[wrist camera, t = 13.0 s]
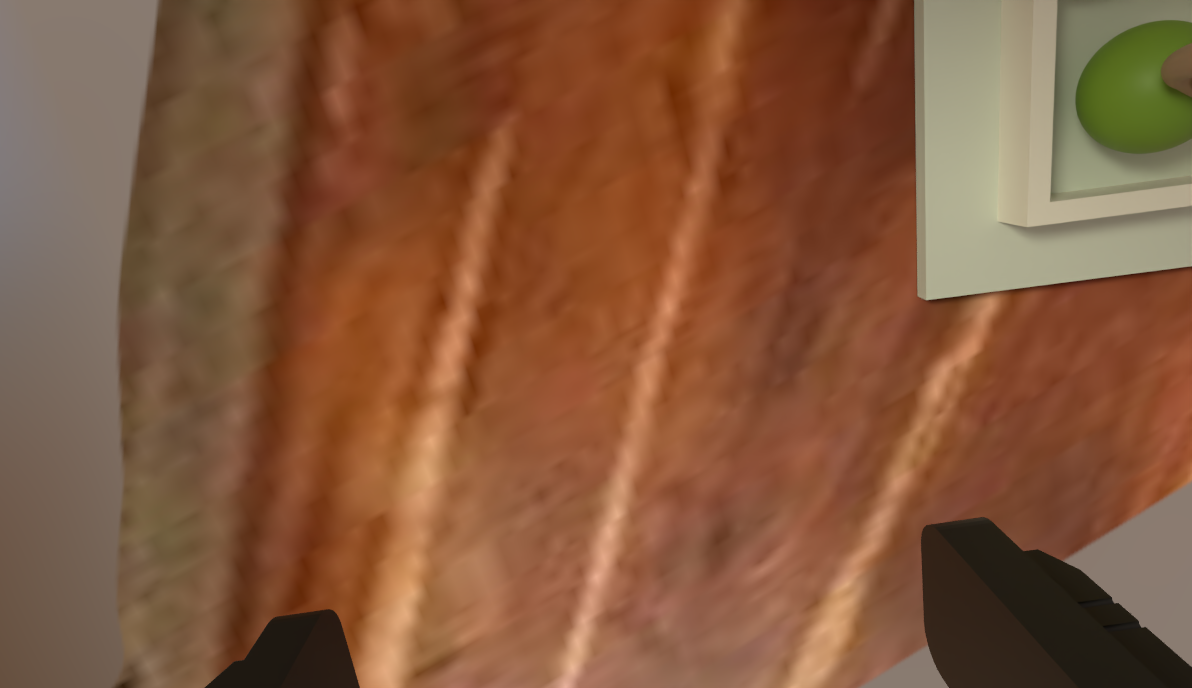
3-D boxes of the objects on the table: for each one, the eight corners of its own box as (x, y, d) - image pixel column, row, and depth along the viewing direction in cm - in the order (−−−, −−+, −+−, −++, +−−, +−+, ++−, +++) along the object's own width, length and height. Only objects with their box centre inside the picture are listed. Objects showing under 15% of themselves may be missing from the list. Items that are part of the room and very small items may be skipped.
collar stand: (912, -94, 33) (949, -120, 30) (1319, -151, 33) (1404, -185, 29) (917, 296, 38) (950, 311, 34) (1271, 250, 37) (1339, 261, 34)
